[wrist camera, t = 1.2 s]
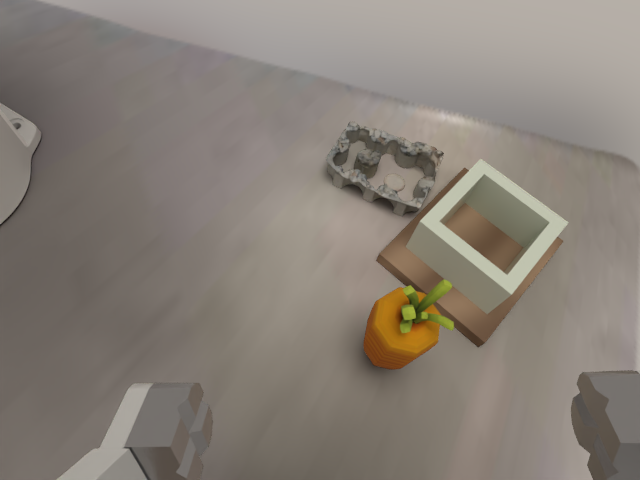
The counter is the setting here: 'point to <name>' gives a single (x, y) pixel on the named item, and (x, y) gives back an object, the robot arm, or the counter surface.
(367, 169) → the egg carton
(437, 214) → the square open planter
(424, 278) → the walnut board
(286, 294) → the counter surface
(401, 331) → the carrot
